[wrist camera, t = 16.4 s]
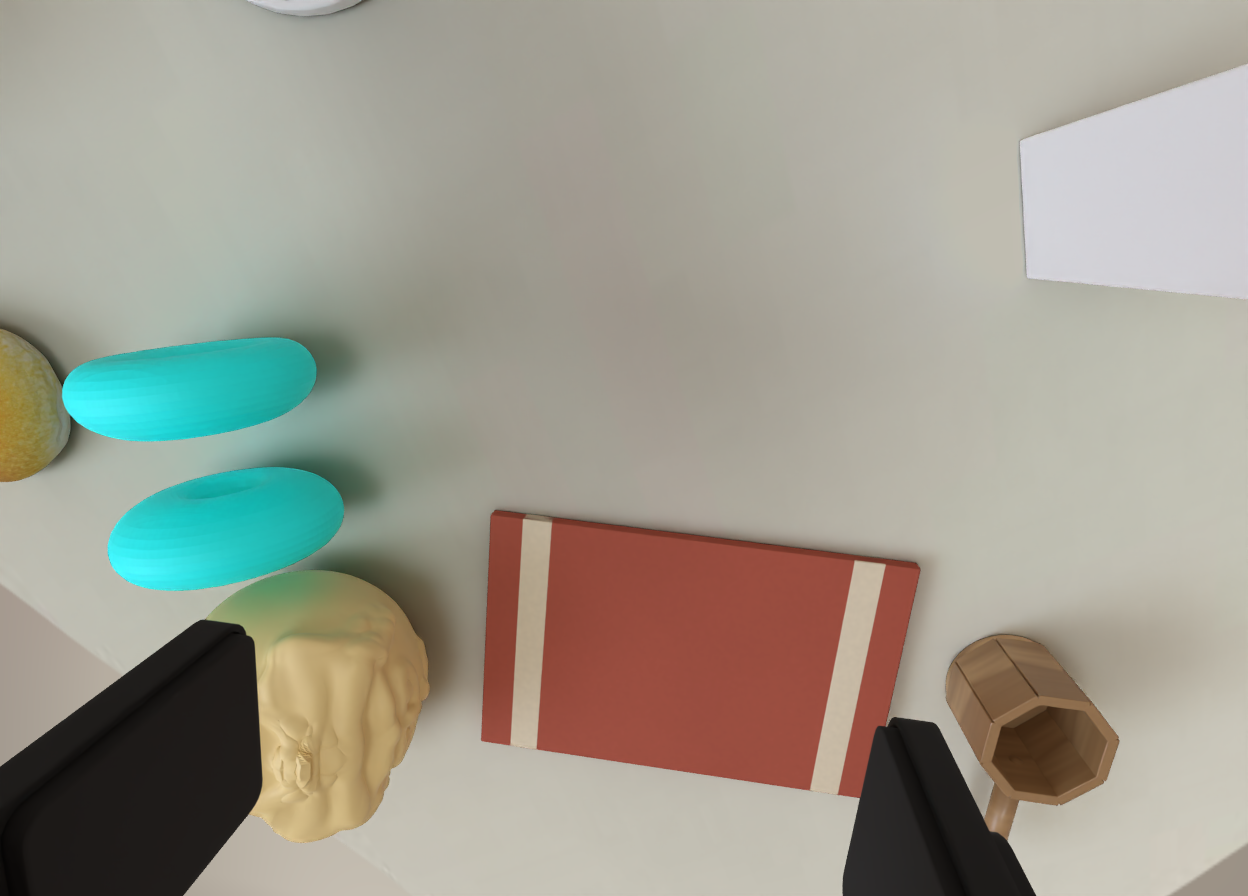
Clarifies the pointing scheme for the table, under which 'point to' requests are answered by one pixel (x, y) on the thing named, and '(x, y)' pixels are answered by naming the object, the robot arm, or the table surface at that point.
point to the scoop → (1027, 725)
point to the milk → (1145, 193)
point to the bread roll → (28, 410)
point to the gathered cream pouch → (328, 696)
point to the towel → (691, 650)
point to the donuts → (220, 503)
